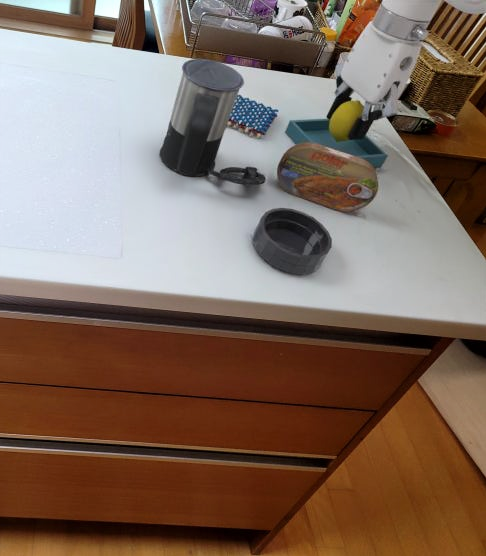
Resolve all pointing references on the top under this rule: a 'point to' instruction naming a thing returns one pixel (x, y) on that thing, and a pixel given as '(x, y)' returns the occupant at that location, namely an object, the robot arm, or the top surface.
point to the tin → (327, 177)
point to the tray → (321, 135)
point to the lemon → (345, 119)
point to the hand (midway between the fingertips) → (344, 127)
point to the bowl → (291, 240)
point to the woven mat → (251, 116)
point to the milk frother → (204, 121)
